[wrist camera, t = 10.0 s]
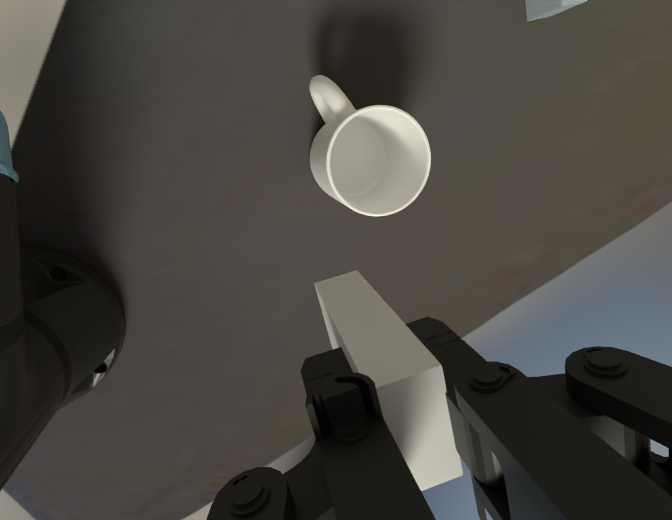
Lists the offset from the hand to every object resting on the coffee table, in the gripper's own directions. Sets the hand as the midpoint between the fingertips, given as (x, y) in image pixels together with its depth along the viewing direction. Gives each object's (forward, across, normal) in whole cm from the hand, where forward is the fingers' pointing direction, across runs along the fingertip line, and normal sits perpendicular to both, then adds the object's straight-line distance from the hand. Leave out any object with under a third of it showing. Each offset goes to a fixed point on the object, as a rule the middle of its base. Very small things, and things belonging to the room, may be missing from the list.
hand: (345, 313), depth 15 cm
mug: (+29, +7, +4) cm, 30 cm away
